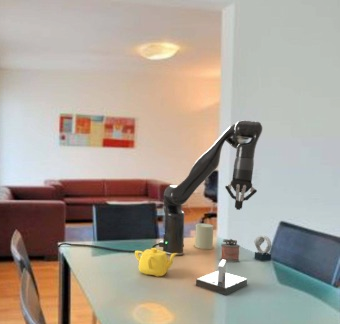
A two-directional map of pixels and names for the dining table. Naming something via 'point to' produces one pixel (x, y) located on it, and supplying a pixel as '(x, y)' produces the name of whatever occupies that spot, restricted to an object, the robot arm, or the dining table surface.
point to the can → (204, 236)
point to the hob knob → (222, 271)
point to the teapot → (154, 261)
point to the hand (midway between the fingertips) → (238, 209)
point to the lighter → (230, 251)
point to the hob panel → (221, 283)
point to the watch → (261, 254)
